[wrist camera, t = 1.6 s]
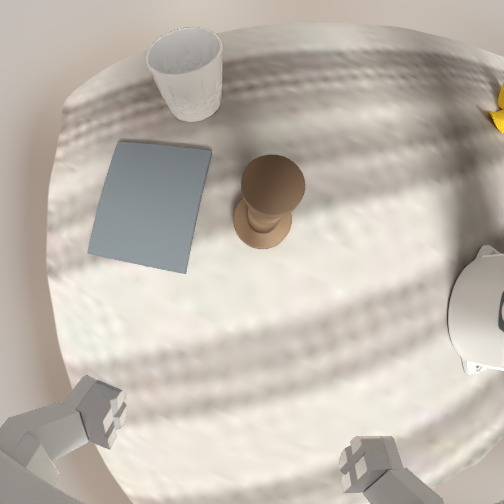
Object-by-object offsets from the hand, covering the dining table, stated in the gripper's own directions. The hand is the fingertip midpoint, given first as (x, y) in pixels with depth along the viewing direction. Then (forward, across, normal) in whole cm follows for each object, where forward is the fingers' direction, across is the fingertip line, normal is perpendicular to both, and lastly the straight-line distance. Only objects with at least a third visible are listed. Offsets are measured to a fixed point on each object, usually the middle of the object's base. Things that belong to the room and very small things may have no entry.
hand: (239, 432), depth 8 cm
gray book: (+24, +14, -1) cm, 28 cm away
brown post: (+25, +1, -2) cm, 25 cm away
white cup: (+31, +12, -14) cm, 36 cm away
